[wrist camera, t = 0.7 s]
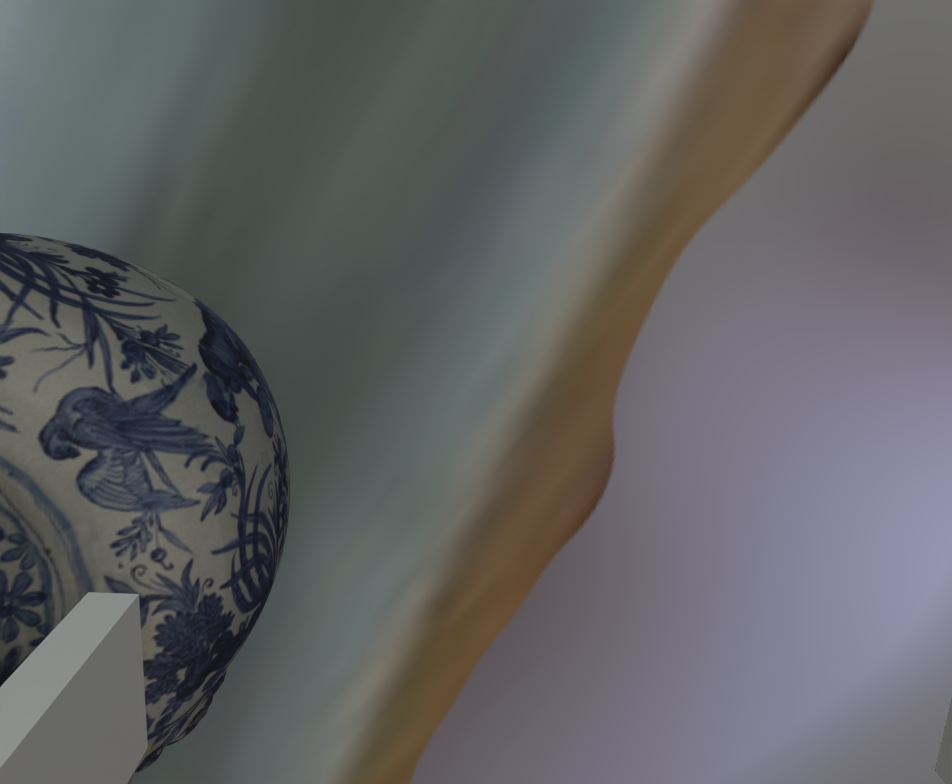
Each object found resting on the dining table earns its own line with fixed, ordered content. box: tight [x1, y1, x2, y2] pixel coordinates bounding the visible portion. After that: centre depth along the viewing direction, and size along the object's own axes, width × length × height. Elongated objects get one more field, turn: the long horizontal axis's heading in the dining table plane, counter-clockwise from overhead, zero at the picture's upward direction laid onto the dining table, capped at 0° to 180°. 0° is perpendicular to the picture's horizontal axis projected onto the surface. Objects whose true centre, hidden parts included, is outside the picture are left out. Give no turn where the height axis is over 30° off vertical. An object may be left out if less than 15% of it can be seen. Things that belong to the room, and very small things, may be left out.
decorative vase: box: [0, 233, 290, 784], centre depth 27 cm, size 21×19×28 cm
